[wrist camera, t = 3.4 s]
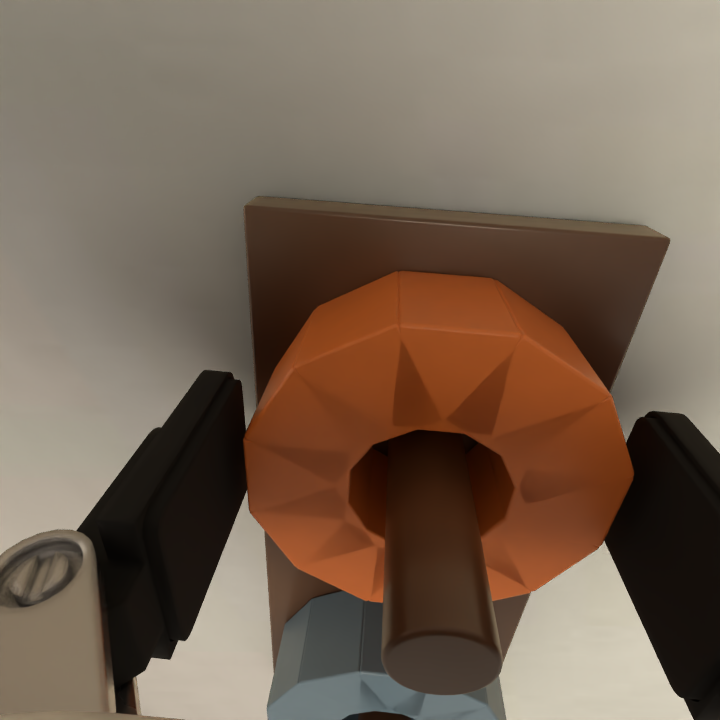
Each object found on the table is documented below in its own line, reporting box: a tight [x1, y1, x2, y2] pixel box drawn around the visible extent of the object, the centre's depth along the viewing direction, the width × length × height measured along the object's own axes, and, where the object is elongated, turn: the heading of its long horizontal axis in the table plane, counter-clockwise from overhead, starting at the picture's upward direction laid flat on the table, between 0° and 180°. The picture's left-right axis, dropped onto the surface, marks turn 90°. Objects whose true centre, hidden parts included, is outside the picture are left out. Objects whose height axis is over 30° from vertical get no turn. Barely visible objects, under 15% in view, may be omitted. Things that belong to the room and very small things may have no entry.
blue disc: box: [267, 591, 506, 720], centre depth 15 cm, size 7×7×2 cm
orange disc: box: [243, 271, 634, 603], centre depth 10 cm, size 7×7×2 cm
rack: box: [243, 196, 670, 720], centre depth 11 cm, size 19×8×6 cm, turn 177°
